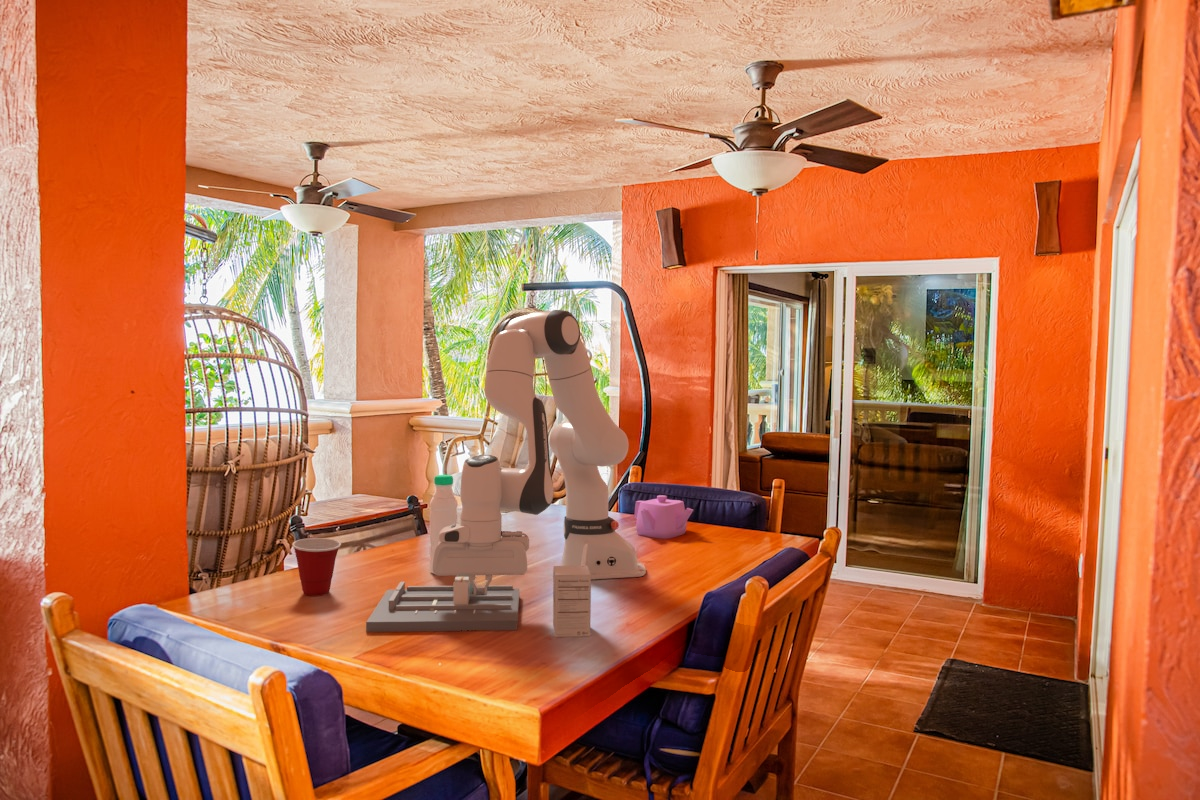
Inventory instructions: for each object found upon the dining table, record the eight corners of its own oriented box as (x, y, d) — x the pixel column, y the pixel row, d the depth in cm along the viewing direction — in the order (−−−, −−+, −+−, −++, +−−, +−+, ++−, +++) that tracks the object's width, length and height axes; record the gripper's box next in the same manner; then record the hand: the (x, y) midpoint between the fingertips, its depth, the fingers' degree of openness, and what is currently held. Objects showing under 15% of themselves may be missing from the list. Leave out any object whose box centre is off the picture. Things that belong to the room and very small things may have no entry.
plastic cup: (317, 602, 188) (317, 549, 187) (281, 595, 192) (281, 544, 192) (351, 590, 198) (351, 539, 197) (316, 584, 202) (316, 535, 202)
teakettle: (679, 528, 278) (680, 491, 278) (694, 538, 261) (695, 499, 261) (629, 529, 275) (630, 492, 275) (641, 540, 258) (641, 500, 258)
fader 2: (469, 599, 183) (469, 576, 183) (467, 605, 178) (467, 581, 178) (455, 599, 183) (455, 576, 183) (453, 606, 178) (453, 582, 178)
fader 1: (473, 589, 191) (473, 567, 191) (471, 595, 186) (471, 572, 186) (459, 589, 191) (459, 567, 191) (457, 595, 186) (457, 572, 186)
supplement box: (552, 625, 173) (553, 565, 172) (588, 625, 174) (589, 564, 173) (553, 637, 166) (554, 574, 165) (590, 637, 166) (591, 573, 166)
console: (519, 597, 194) (519, 580, 194) (516, 630, 170) (517, 610, 170) (387, 598, 191) (387, 581, 191) (366, 631, 167) (366, 612, 167)
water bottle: (451, 576, 212) (451, 477, 211) (425, 574, 213) (425, 476, 212) (461, 569, 219) (461, 474, 218) (435, 567, 220) (436, 473, 219)
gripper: (529, 528, 184) (528, 590, 185) (435, 528, 182) (434, 591, 183) (529, 534, 178) (528, 598, 179) (431, 534, 176) (431, 599, 177)
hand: (480, 594), depth 181 cm, fingers closed
